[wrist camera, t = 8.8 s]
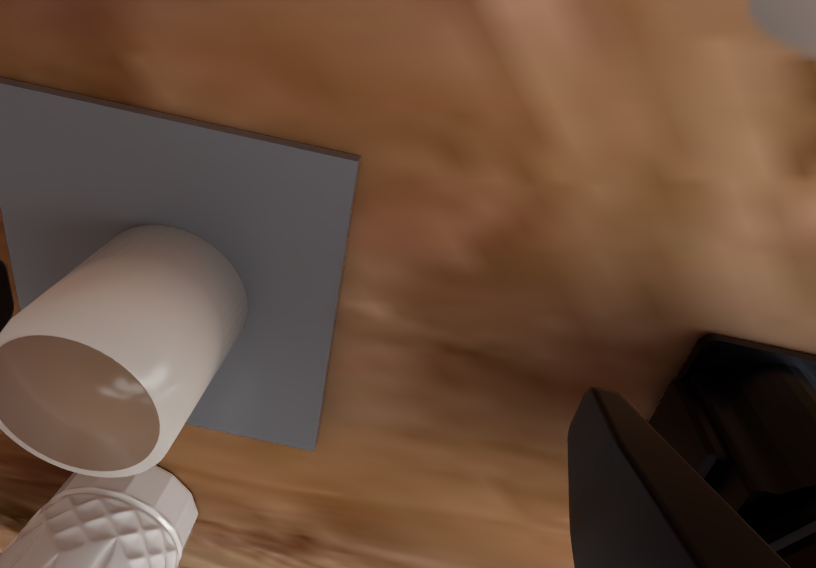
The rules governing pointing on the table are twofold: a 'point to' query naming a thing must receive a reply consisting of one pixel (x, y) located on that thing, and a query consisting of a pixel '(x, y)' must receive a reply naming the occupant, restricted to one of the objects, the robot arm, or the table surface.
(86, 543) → the white cup
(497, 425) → the table surface
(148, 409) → the espresso cup
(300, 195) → the slate board
